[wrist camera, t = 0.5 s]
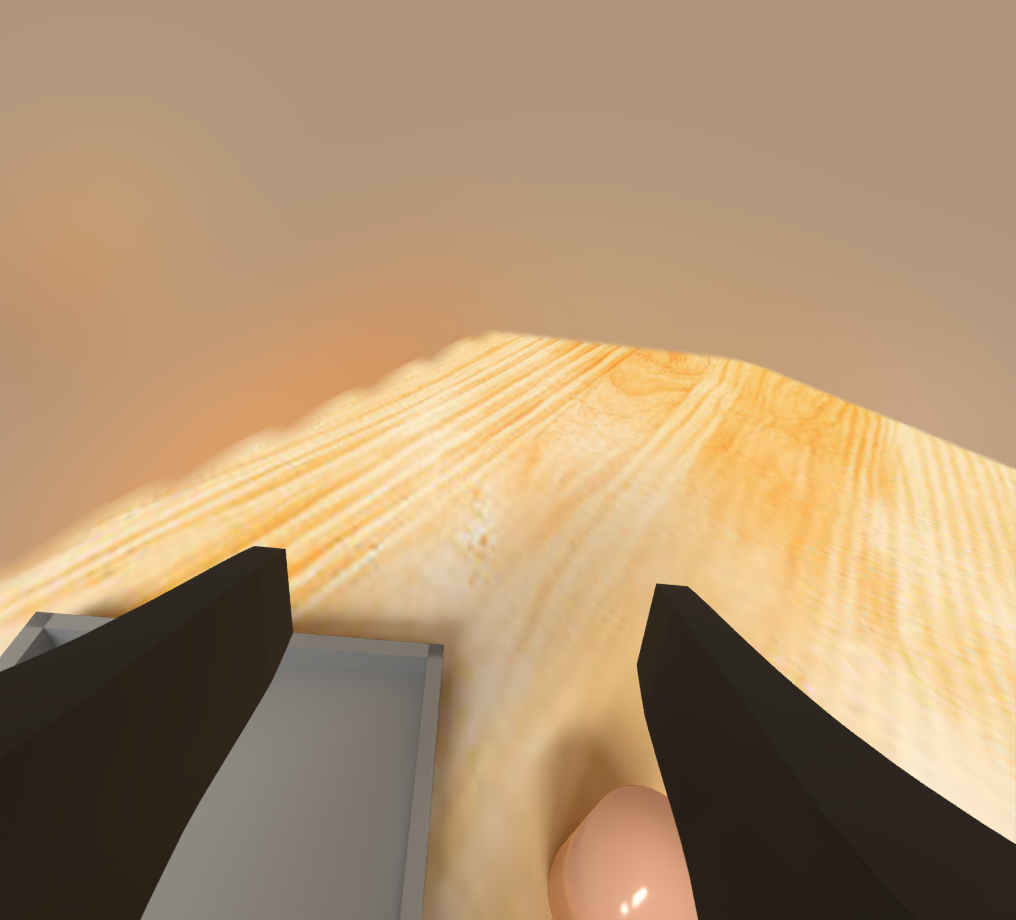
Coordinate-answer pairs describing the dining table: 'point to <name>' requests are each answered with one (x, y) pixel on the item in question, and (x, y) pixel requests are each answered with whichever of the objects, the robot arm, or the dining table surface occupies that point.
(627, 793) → the pink rounded cylinder
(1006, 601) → the dining table surface
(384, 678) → the tray
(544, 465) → the dining table surface
